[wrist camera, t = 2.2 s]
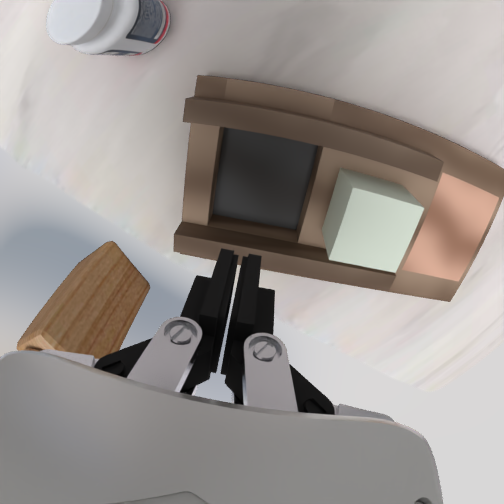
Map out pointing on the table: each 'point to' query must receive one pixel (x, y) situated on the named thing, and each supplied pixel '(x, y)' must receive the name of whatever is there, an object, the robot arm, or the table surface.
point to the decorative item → (90, 307)
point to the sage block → (369, 221)
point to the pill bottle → (108, 25)
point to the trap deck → (325, 185)
